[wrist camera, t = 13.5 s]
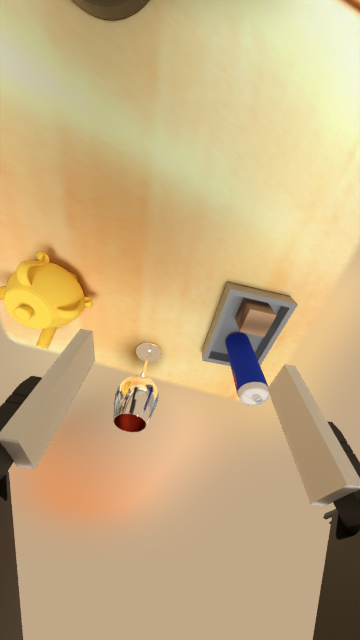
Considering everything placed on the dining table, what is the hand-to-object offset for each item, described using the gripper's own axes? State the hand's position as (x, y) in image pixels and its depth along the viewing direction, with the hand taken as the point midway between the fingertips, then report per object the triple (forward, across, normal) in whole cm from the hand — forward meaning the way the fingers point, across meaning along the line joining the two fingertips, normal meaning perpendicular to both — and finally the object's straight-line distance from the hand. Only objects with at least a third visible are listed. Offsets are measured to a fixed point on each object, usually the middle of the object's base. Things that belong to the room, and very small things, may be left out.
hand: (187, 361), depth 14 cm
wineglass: (+26, -5, -25) cm, 37 cm away
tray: (+26, +14, -13) cm, 33 cm away
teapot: (+26, -26, -13) cm, 39 cm away
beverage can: (+26, +14, -16) cm, 34 cm away
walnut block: (+26, +14, -8) cm, 31 cm away
